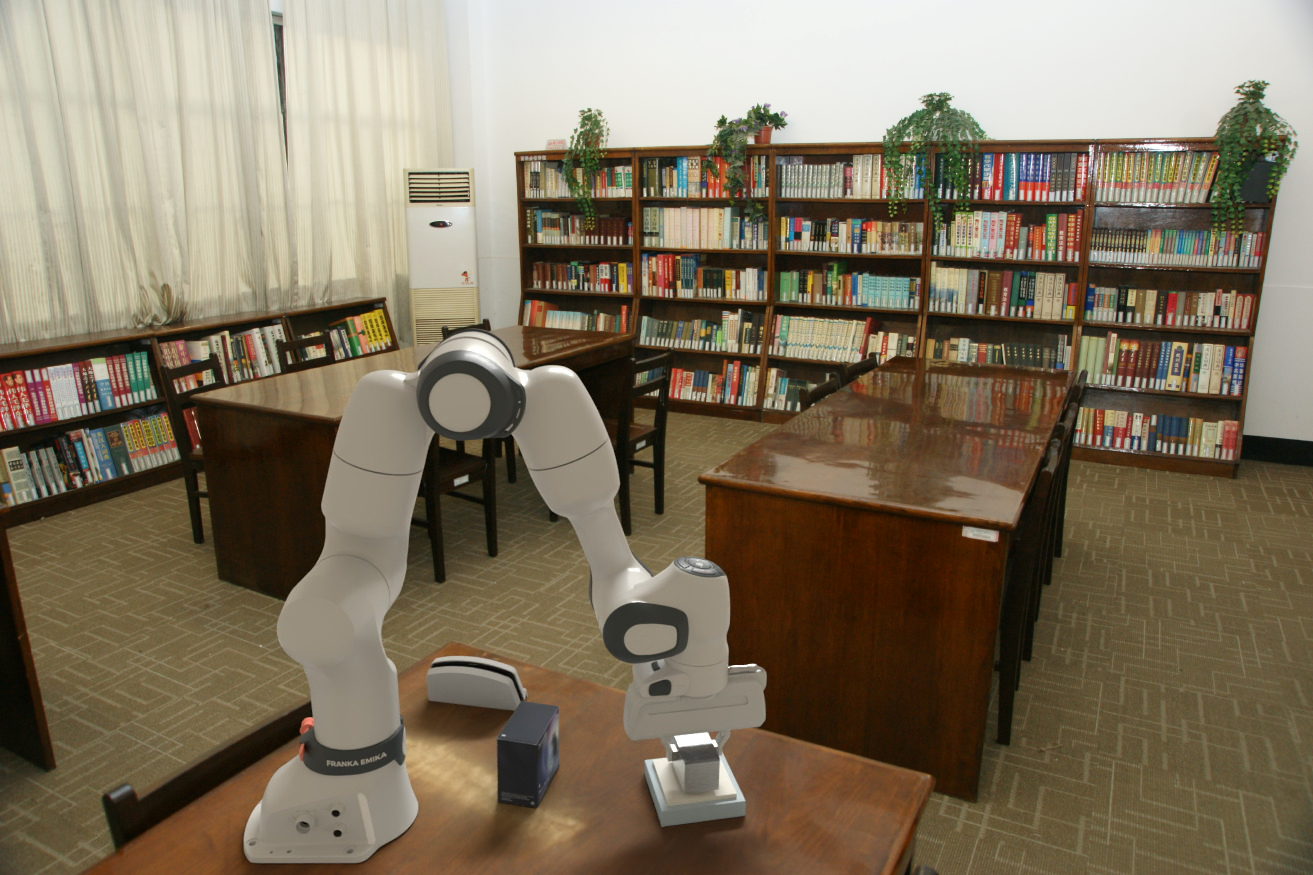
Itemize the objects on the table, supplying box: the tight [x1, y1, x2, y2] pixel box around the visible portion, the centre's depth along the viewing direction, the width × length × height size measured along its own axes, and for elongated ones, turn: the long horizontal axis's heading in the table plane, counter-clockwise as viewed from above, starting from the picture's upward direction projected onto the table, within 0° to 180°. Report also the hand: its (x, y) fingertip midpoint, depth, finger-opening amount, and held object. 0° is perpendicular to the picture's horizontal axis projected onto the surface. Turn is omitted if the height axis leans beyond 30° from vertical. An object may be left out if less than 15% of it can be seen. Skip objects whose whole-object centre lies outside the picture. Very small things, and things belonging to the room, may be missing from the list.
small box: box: [496, 700, 560, 809], centre depth 132 cm, size 11×6×10 cm, turn 168°
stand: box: [643, 751, 747, 828], centre depth 131 cm, size 12×12×3 cm
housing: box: [669, 732, 720, 794], centre depth 130 cm, size 9×5×5 cm, turn 12°
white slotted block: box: [425, 655, 528, 712], centre depth 153 cm, size 17×5×10 cm, turn 79°
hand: (693, 756), depth 130 cm, fingers closed on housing, 5 cm apart
